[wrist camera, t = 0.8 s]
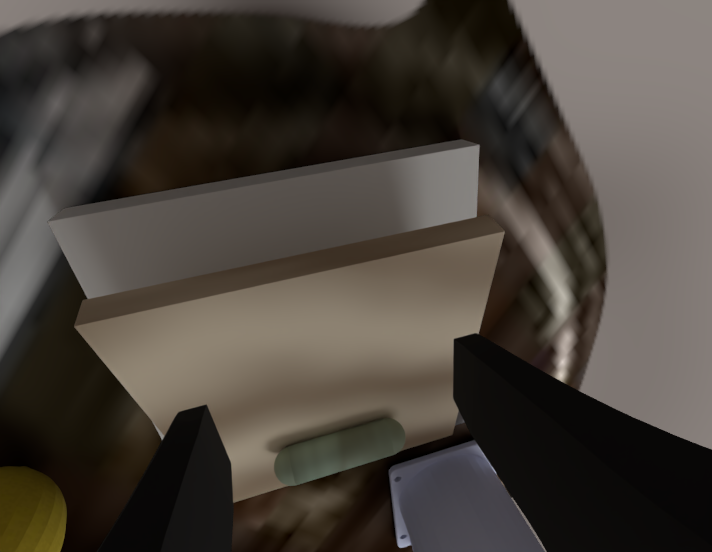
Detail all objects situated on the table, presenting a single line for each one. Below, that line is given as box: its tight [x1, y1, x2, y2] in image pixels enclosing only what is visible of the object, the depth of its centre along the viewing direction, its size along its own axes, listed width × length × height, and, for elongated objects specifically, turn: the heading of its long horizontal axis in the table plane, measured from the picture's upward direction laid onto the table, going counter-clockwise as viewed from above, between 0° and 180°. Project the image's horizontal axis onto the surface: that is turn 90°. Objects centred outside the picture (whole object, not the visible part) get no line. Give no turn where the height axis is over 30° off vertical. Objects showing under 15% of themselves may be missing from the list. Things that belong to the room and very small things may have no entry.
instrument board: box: [74, 215, 505, 503], centre depth 16 cm, size 14×13×3 cm
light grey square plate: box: [47, 139, 479, 440], centre depth 19 cm, size 16×16×2 cm
